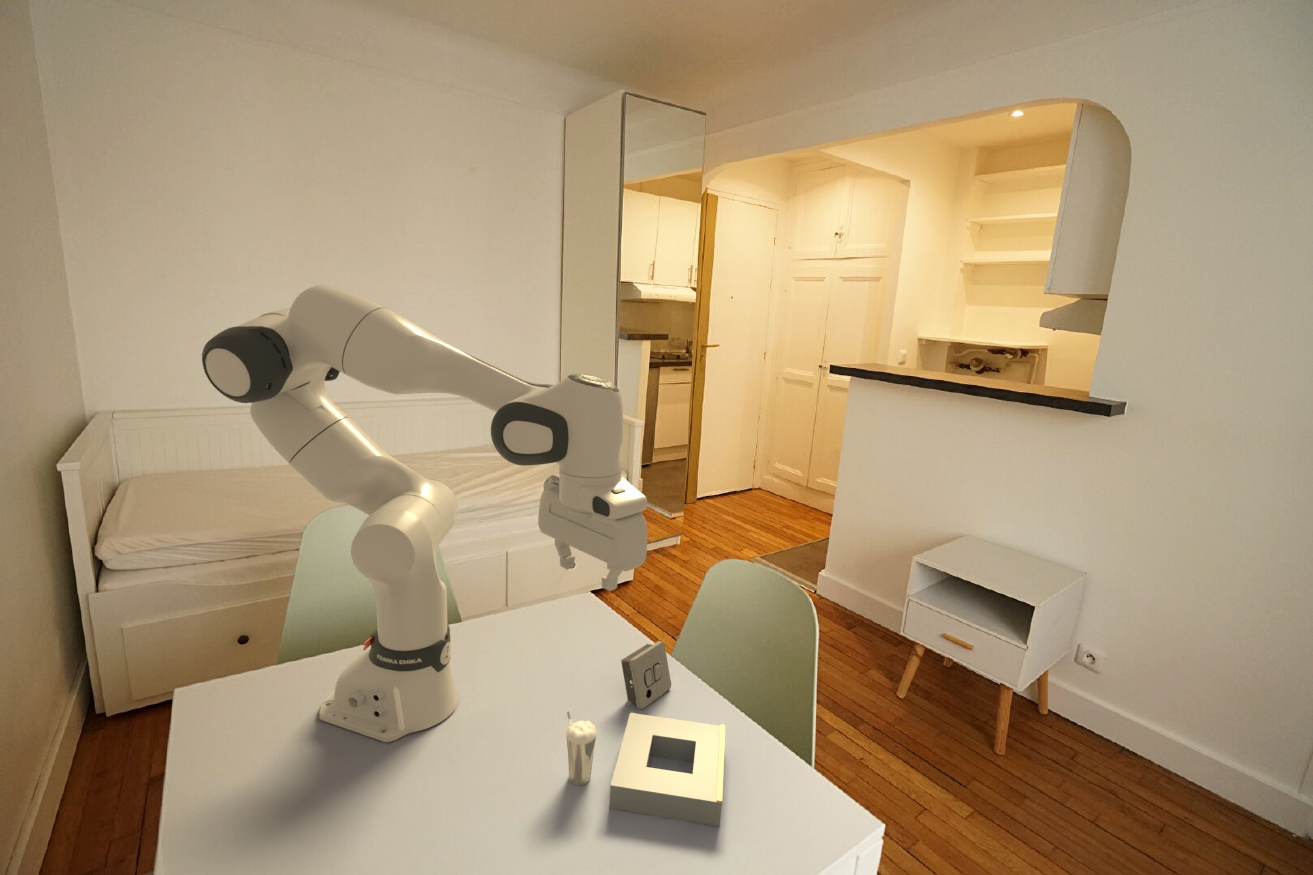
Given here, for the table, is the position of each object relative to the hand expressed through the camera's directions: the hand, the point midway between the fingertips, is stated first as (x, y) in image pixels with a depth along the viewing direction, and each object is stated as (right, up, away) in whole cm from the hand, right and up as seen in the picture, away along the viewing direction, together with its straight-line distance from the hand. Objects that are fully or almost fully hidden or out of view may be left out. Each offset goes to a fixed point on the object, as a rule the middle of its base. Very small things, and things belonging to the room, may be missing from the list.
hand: (587, 577), depth 91 cm
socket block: (+12, -32, +5) cm, 35 cm away
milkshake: (-2, -32, +3) cm, 32 cm away
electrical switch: (+8, -28, +24) cm, 37 cm away
